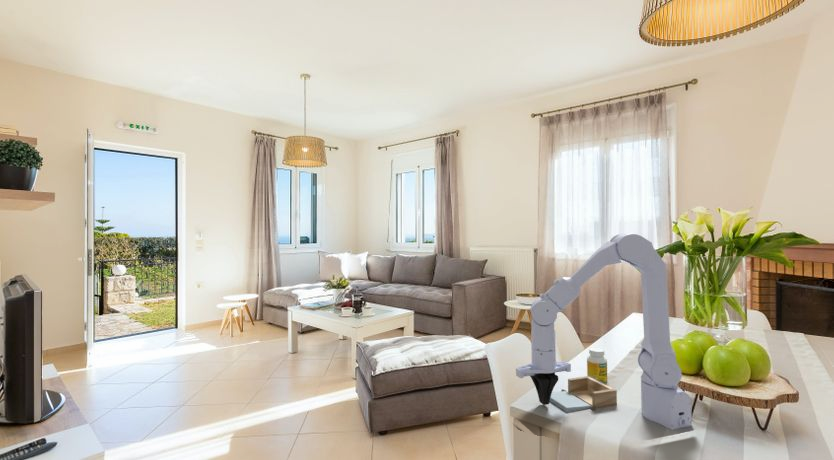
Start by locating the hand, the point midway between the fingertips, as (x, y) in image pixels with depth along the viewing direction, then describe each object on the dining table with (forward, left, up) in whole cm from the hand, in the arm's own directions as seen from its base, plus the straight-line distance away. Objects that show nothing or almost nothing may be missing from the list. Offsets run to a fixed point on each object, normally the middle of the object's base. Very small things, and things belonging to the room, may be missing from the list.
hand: (544, 402), depth 95 cm
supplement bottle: (+10, -25, -2) cm, 27 cm away
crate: (0, -14, -2) cm, 14 cm away
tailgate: (0, -10, -1) cm, 10 cm away
